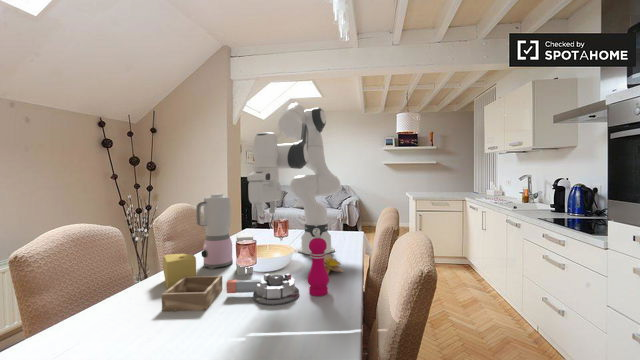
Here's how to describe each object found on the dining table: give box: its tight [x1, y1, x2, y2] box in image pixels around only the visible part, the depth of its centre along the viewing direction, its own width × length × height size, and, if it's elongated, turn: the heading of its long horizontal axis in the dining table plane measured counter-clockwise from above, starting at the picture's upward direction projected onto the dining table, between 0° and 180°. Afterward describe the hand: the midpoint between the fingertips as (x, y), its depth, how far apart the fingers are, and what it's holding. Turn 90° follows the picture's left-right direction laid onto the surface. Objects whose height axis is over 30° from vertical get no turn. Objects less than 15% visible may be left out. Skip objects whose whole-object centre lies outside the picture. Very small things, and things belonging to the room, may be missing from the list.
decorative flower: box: [324, 253, 345, 275], centre depth 116 cm, size 15×11×10 cm
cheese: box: [162, 253, 197, 290], centre depth 108 cm, size 10×11×10 cm
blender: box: [195, 193, 233, 270], centre depth 126 cm, size 16×12×32 cm
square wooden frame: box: [161, 275, 223, 312], centre depth 92 cm, size 15×13×5 cm
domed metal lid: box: [252, 274, 300, 306], centre depth 95 cm, size 15×15×6 cm
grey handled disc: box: [226, 273, 296, 299], centre depth 95 cm, size 22×12×4 cm, turn 91°
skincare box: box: [236, 232, 254, 276], centre depth 118 cm, size 8×7×16 cm
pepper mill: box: [307, 233, 330, 297], centre depth 96 cm, size 7×7×20 cm
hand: (266, 214), depth 103 cm, fingers open, 8 cm apart
